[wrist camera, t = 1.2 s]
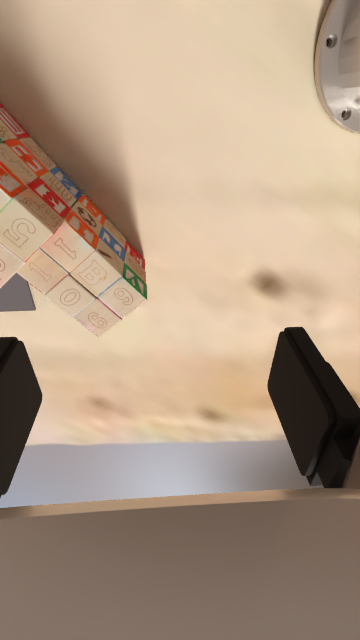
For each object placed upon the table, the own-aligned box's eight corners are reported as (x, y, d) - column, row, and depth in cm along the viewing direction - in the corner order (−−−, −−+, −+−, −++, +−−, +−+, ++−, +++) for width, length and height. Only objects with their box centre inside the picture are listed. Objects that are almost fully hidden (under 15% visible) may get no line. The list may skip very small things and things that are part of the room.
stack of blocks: (147, 258, 35) (149, 321, 25) (107, 291, 36) (93, 361, 26) (-37, 62, 24) (-166, 30, 14) (-81, 121, 26) (-224, 131, 16)
